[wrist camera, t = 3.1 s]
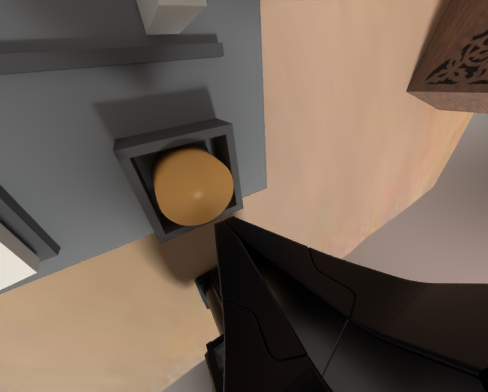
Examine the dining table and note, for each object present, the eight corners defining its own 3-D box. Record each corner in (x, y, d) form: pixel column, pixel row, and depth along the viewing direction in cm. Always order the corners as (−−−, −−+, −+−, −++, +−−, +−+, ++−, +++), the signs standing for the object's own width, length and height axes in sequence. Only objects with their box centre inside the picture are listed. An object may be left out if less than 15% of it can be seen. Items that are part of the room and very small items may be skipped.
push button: (220, 191, 15) (237, 209, 13) (164, 211, 13) (172, 236, 11) (209, 135, 12) (228, 146, 10) (139, 152, 11) (142, 169, 9)
